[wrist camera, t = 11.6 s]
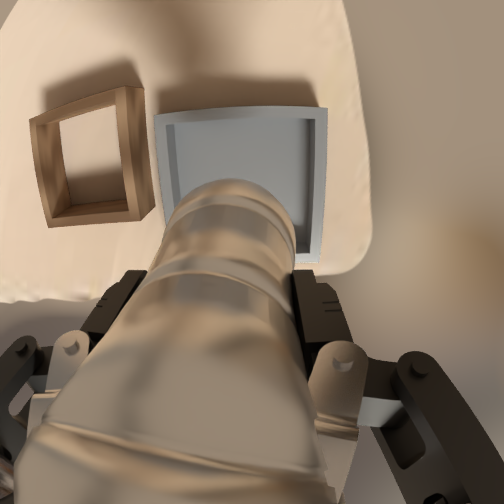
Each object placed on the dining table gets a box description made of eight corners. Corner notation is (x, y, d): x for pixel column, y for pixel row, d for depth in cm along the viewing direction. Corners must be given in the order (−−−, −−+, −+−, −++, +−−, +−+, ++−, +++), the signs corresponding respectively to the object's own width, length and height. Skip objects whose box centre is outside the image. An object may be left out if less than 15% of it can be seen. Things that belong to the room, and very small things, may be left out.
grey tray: (165, 114, 22) (153, 115, 20) (319, 108, 22) (327, 107, 19) (180, 249, 29) (172, 264, 26) (314, 248, 28) (319, 262, 26)
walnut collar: (52, 115, 21) (29, 119, 18) (143, 88, 21) (125, 85, 17) (67, 214, 27) (48, 227, 23) (155, 206, 26) (140, 221, 23)
